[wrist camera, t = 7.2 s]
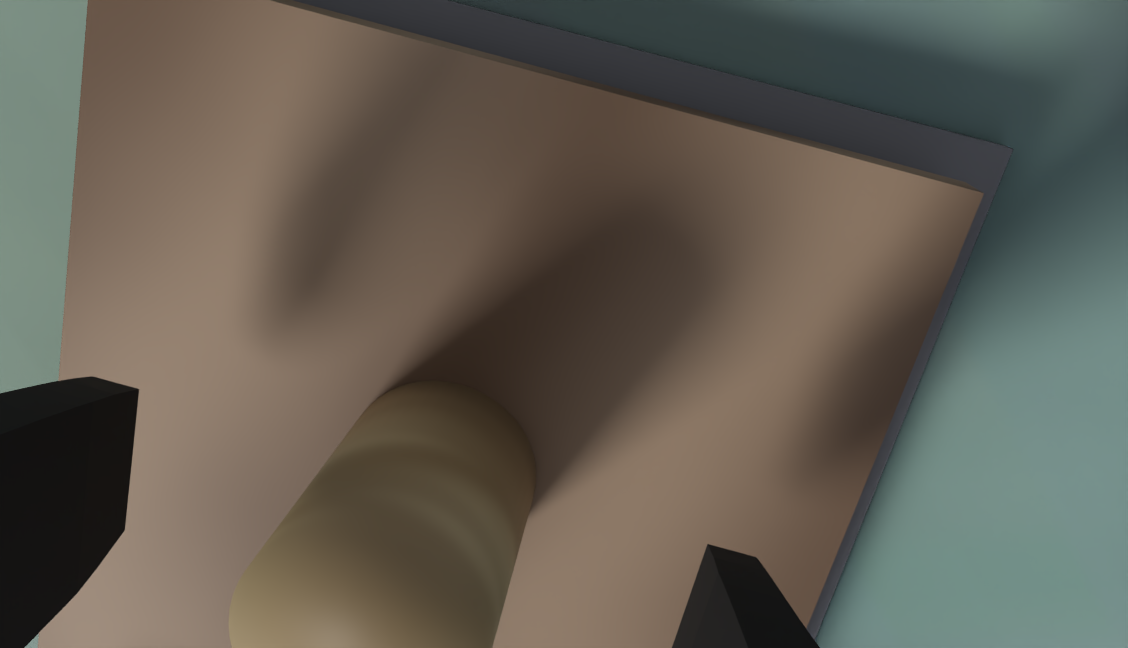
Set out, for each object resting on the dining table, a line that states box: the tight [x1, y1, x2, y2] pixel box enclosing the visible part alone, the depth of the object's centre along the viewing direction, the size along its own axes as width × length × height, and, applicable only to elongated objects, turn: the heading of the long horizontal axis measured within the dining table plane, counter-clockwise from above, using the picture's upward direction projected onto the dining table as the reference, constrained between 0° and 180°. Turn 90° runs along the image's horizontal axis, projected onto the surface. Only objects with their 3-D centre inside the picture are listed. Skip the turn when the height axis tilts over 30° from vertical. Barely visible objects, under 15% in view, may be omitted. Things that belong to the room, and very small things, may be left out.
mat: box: [293, 0, 1013, 640], centre depth 15 cm, size 13×12×1 cm
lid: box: [38, 0, 984, 648], centre depth 13 cm, size 12×12×5 cm
